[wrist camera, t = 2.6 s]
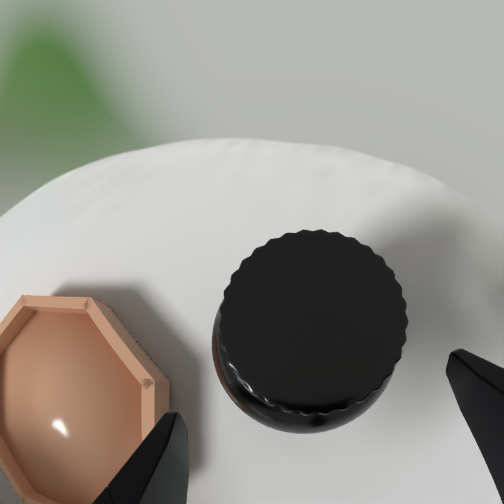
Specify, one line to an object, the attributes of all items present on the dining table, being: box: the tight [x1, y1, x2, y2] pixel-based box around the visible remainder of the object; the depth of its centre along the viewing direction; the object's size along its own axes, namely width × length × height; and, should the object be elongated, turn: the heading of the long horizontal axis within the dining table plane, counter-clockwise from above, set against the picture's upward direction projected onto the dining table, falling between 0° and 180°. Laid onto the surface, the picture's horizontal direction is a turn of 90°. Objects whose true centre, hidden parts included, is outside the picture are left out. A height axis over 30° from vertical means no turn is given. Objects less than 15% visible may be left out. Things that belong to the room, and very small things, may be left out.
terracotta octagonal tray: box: [0, 295, 170, 504], centre depth 17 cm, size 17×17×2 cm
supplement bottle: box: [212, 229, 408, 434], centre depth 13 cm, size 7×7×12 cm
